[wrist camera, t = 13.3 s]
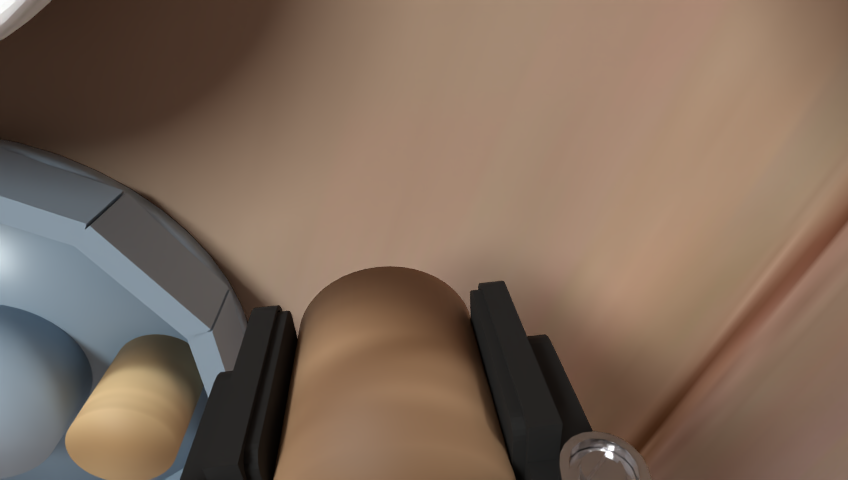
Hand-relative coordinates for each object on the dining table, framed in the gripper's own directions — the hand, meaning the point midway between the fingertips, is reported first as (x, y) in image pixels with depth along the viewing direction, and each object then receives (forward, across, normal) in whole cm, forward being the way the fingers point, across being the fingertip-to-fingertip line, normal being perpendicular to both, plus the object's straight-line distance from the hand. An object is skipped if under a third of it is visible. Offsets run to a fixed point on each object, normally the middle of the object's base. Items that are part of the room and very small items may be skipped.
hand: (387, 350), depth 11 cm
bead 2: (0, 0, 0) cm, 0 cm away
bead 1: (+10, +11, +8) cm, 17 cm away
